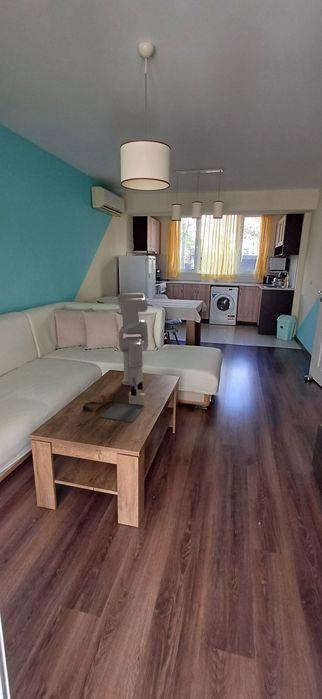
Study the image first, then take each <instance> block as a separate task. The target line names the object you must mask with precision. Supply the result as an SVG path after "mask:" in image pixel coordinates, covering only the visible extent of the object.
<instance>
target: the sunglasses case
mask: <svg viewBox="0 0 322 699" xmlns="http://www.w3.org/2000/svg"><path fill="white" fill-rule="evenodd" d="M112 402H113V400H111V399H110V398H109V397H107V396H106V395H104V394H101V395H99V396H97V397H95V398H94V399H91V400H90V401H88V402H86V403H85V404H83V406H82V410H83V411H84V412H89V413H97V412H98V411H99V410H100V409H102V408H103V407H105V406H107V405H109V404H110V403H112Z"/></svg>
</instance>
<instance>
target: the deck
mask: <svg viewBox="0 0 322 699" xmlns="http://www.w3.org/2000/svg"><path fill="white" fill-rule="evenodd" d="M136 394H137V395H136V396H131V391H130V392H128V398H129V399H128V403H129V404H128V405H136V406H145V405H146V394H145V393H143V392H136Z"/></svg>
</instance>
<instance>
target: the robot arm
mask: <svg viewBox="0 0 322 699" xmlns="http://www.w3.org/2000/svg"><path fill="white" fill-rule="evenodd" d="M117 304H118V306H119V310H120V311H121V316H122V317H121V319H122V326H121V327H120V329H119V332H118V337H117V338H118V347H119V351H120V352H121V353H122V356H123V357H122V358H123V379H122V380H121V383H122V385H124V386H129V387H130V388H129V389H130V392H131V396H136V395H137V394H136V393H137V391H139V390H140V391H143V388H144V387H143V385H144V384H143V383H144V382H143V380H144V379H143V378H144V372H143V367H144V366H143V364H144V363H143V362H144V361H143V360H144V357H143V351H144V352H145V351H147V350H148V348H149V333H148V332H149V330H148V323H147V321H146V320H144V319H140V318H139V313H145V312H147V311H148V307H149V306H148V304H149V303H148V300H147V298H146V295H145V293H144V292H123V293H119V294H118V295H117ZM124 335H128V336H125V337H124ZM129 335H130V336H129ZM133 335H140V336H133Z"/></svg>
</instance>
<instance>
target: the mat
mask: <svg viewBox="0 0 322 699" xmlns="http://www.w3.org/2000/svg"><path fill="white" fill-rule="evenodd" d="M144 409H145V406H143V405H135V404H127V403H126V404H125V403H119V402H118V403H117V402H114V403H113V405H112V406H110V407H109V408H108V409H107V410H106V411H105V412H103V414H102V415H101V416H100V419H105V420H112V421H119V422H126V423H131V424H133V422H134V421H135V420H136V418H138V417H139V415H140V414H141V413H142V412H143V410H144Z"/></svg>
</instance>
